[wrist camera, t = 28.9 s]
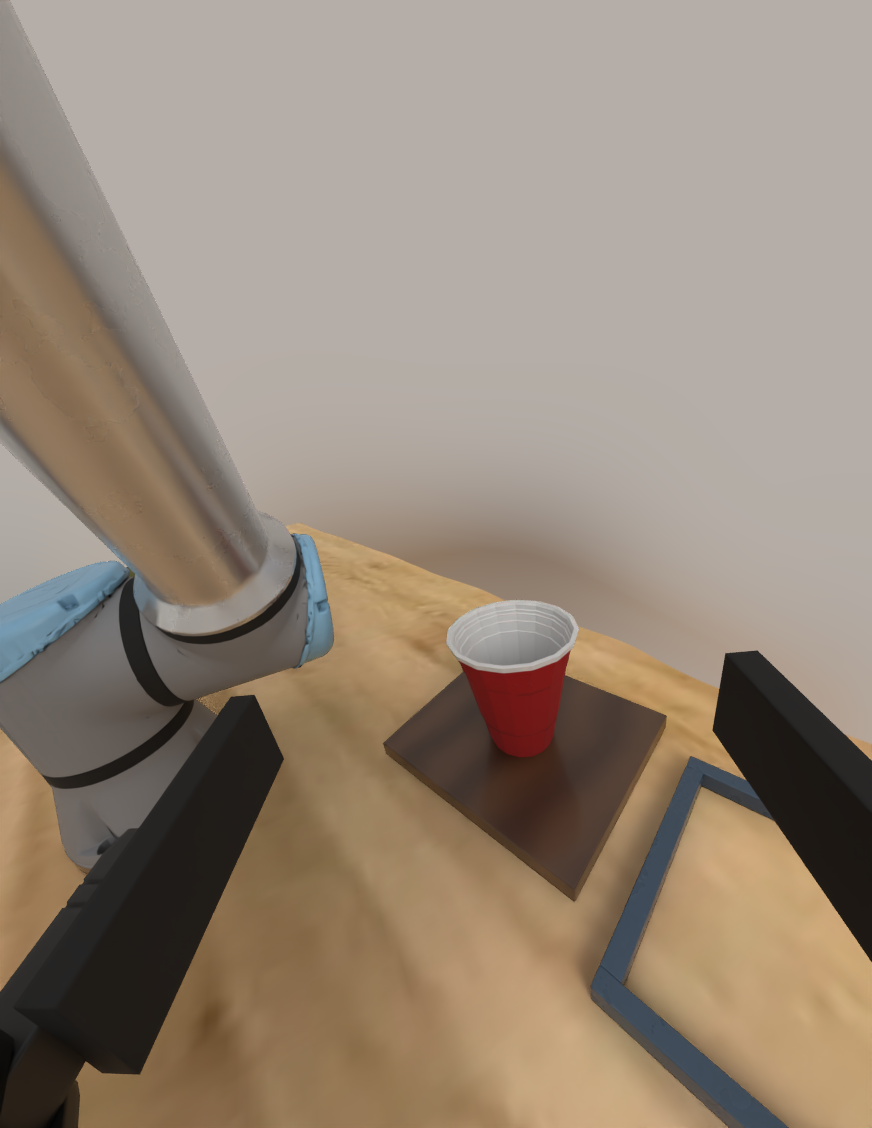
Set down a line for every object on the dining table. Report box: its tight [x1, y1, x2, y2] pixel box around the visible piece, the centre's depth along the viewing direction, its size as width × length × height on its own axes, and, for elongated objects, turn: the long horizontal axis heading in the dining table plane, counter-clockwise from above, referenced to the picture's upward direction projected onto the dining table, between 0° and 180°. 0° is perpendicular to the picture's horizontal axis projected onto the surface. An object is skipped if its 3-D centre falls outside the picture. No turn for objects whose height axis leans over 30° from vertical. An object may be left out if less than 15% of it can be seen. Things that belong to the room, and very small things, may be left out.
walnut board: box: [383, 672, 667, 901], centre depth 39 cm, size 20×18×2 cm
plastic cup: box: [446, 600, 579, 757], centre depth 36 cm, size 11×11×12 cm
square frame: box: [591, 756, 789, 1128], centre depth 22 cm, size 18×18×2 cm
